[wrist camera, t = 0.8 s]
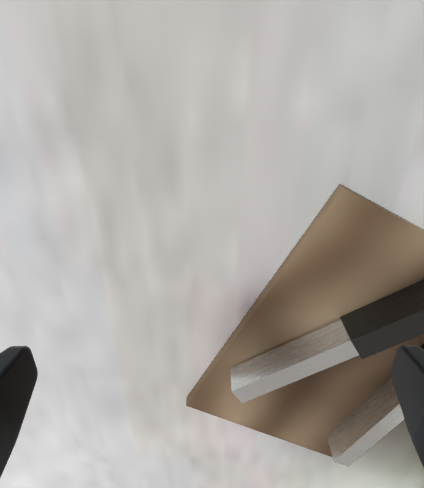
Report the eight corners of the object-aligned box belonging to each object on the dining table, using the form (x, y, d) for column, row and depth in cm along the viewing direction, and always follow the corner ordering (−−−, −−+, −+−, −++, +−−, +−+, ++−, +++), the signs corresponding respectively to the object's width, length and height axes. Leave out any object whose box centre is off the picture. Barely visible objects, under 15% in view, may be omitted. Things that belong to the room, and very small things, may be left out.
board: (526, 286, 24) (536, 293, 23) (339, 451, 32) (342, 460, 31) (339, 183, 20) (344, 188, 20) (186, 396, 29) (186, 405, 28)
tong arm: (439, 296, 23) (460, 319, 21) (241, 381, 27) (243, 407, 25) (431, 276, 22) (452, 297, 20) (229, 366, 26) (229, 392, 24)
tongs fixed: (526, 278, 22) (561, 304, 20) (342, 442, 30) (352, 475, 28) (484, 255, 22) (517, 279, 19) (307, 430, 29) (315, 462, 27)
